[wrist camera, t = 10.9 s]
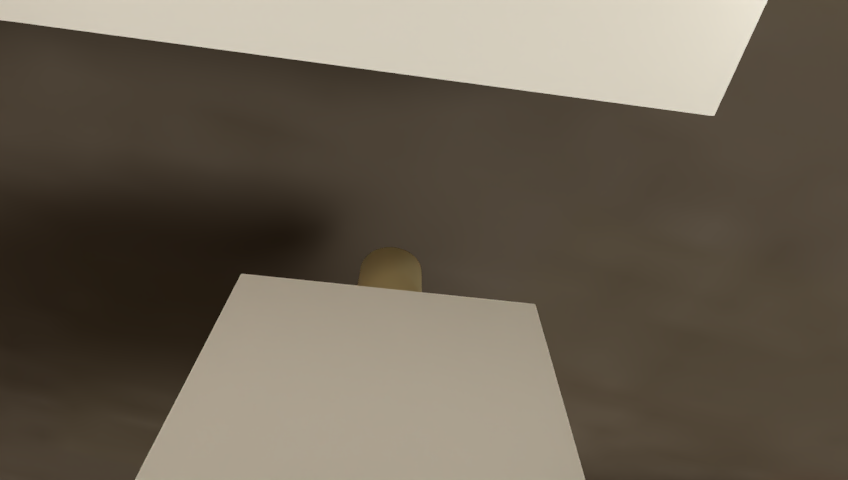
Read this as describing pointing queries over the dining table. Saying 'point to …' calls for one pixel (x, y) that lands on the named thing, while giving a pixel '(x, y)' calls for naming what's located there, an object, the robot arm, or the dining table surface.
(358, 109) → the dining table surface
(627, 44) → the socket
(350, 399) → the plug
